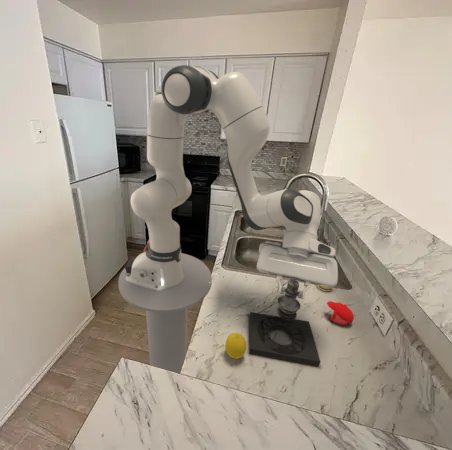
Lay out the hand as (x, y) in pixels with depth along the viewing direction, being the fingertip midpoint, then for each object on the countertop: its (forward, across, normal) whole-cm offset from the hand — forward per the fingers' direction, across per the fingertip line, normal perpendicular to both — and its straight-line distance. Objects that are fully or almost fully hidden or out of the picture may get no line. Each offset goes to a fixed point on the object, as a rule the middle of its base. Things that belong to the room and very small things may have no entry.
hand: (291, 295), depth 67 cm
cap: (+1, +16, +23) cm, 28 cm away
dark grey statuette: (+4, 0, +5) cm, 7 cm away
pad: (+12, 0, +12) cm, 17 cm away
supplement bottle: (-10, +14, +34) cm, 38 cm away
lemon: (+19, -11, +5) cm, 23 cm away
